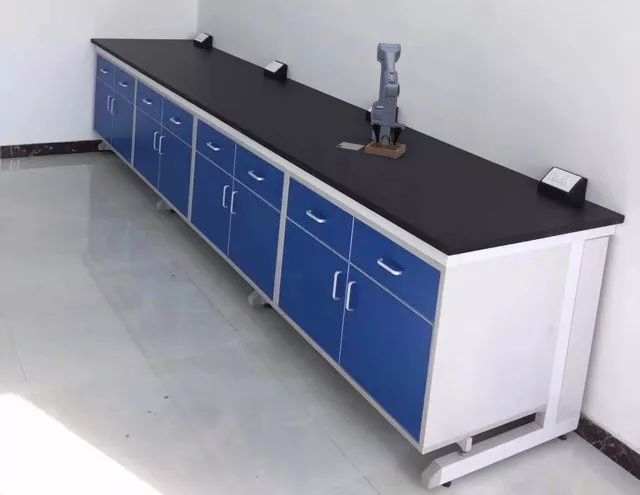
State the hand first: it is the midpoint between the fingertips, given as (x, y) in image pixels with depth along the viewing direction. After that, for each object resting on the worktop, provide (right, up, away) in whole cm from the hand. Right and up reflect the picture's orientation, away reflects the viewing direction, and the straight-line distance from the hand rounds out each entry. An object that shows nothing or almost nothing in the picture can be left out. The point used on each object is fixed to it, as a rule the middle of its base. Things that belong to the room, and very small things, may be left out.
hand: (386, 143), depth 339 cm
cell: (0, -4, +1) cm, 4 cm away
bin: (0, -4, +2) cm, 4 cm away
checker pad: (-15, -1, +7) cm, 17 cm away
